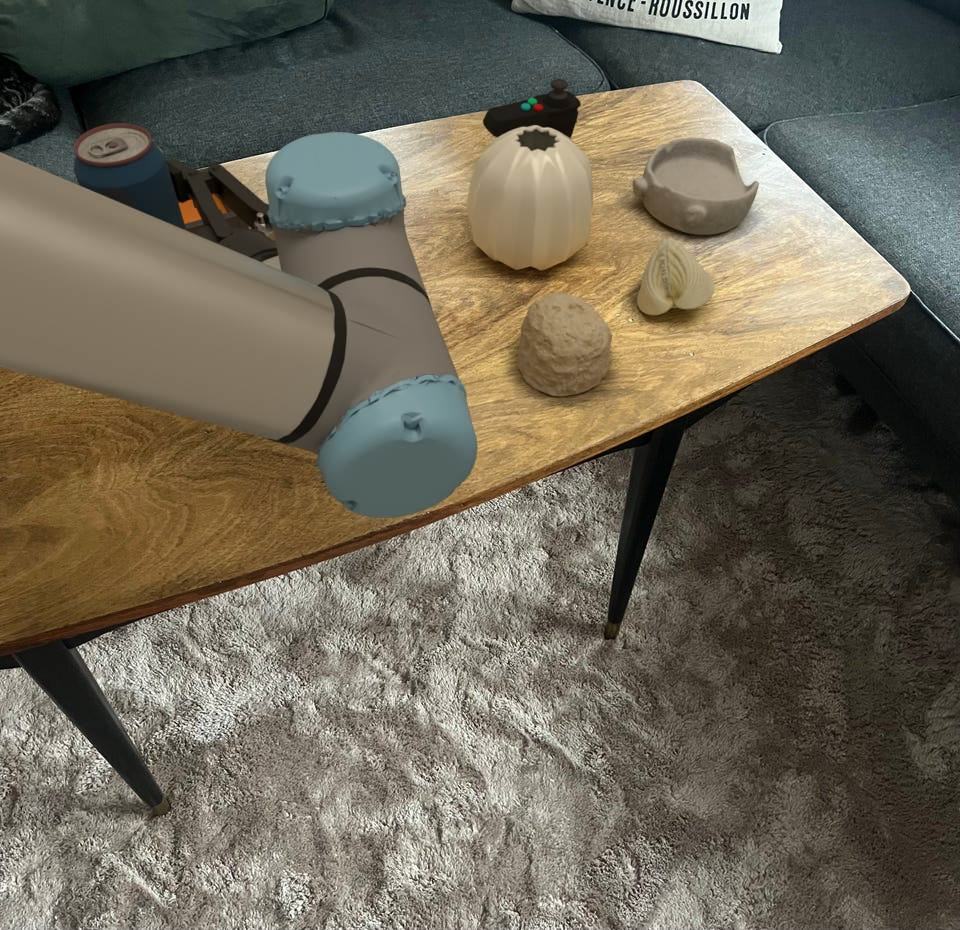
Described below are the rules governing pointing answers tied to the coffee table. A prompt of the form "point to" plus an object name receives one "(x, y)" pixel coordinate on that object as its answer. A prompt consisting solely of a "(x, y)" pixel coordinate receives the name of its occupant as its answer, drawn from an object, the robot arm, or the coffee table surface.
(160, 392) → the robot arm
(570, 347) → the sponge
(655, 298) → the seashell
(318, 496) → the coffee table surface
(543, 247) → the vase
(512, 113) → the controller
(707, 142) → the dish
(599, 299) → the coffee table surface
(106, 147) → the soda can
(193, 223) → the square wooden tray
